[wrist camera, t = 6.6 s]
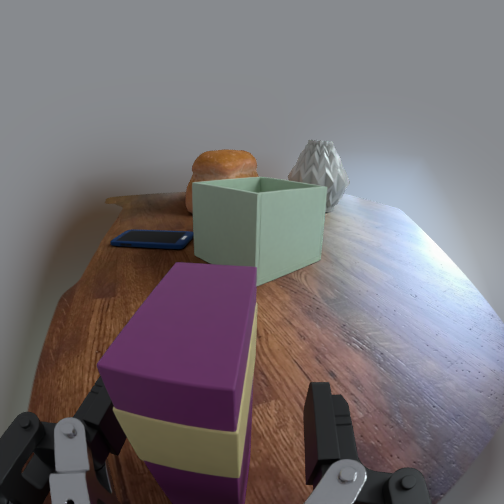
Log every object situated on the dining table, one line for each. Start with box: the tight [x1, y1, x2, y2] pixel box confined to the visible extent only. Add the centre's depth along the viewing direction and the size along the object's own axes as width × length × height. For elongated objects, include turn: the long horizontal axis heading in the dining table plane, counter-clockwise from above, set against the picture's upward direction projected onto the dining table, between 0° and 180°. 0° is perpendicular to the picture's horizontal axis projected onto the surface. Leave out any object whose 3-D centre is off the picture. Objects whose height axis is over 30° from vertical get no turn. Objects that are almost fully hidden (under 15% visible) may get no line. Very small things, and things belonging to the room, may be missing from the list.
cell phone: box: [111, 230, 194, 249], centre depth 48 cm, size 7×14×1 cm, turn 85°
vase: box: [288, 140, 350, 213], centre depth 72 cm, size 16×16×18 cm
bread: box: [185, 150, 259, 213], centre depth 73 cm, size 14×26×15 cm, turn 162°
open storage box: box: [192, 177, 327, 287], centre depth 40 cm, size 13×13×11 cm
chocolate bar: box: [97, 262, 257, 504], centre depth 9 cm, size 5×3×12 cm, turn 175°
